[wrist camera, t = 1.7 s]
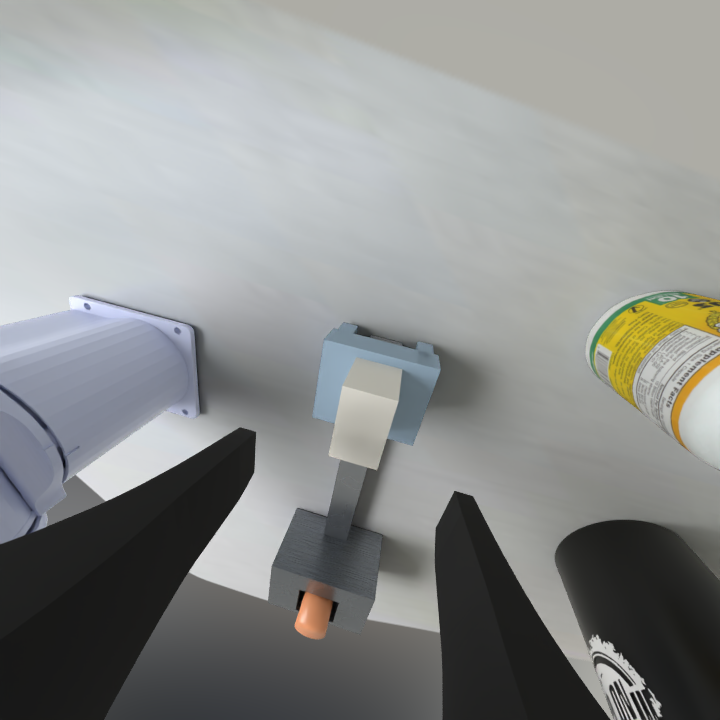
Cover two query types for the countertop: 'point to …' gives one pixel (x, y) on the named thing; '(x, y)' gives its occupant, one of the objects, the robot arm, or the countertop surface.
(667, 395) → the supplement bottle
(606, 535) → the water bottle
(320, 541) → the cabinet
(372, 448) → the carriage
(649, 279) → the countertop surface
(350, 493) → the rail
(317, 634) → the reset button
